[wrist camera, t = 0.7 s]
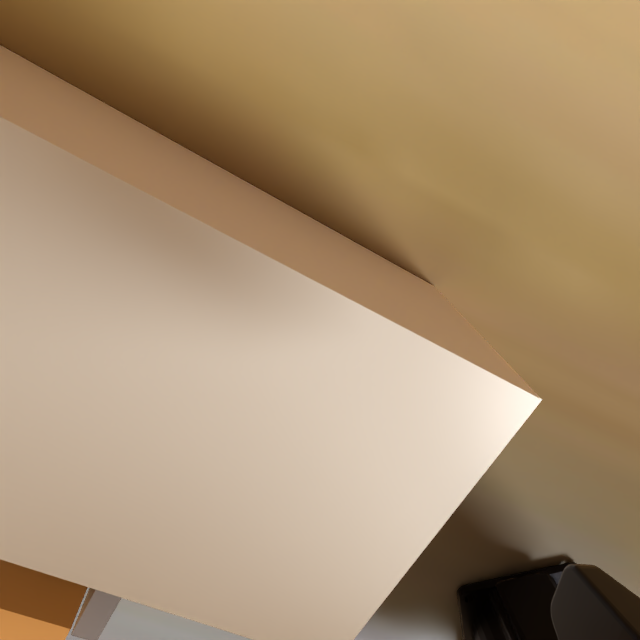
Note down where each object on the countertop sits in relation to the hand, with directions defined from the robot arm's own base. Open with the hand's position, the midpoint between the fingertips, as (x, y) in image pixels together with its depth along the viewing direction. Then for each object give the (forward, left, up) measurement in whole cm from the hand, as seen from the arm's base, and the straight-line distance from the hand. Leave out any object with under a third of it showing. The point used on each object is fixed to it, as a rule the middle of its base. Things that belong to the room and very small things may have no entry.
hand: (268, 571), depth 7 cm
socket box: (-2, +6, -14) cm, 15 cm away
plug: (-12, +15, -12) cm, 23 cm away
